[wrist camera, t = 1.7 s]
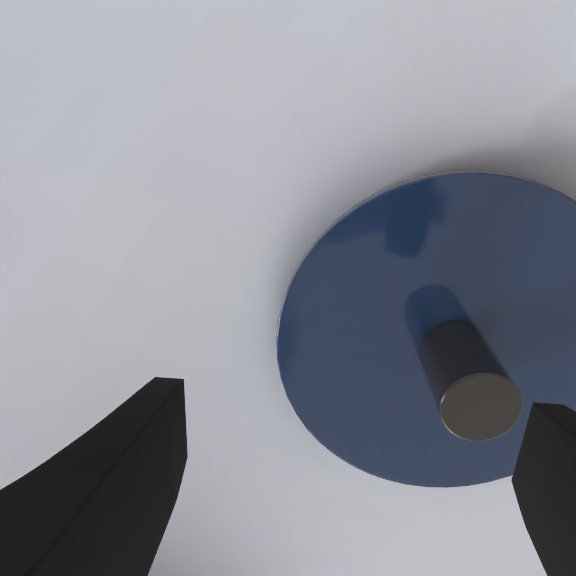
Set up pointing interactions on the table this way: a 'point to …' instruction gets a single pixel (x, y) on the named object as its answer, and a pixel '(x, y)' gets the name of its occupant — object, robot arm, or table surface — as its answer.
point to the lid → (434, 326)
